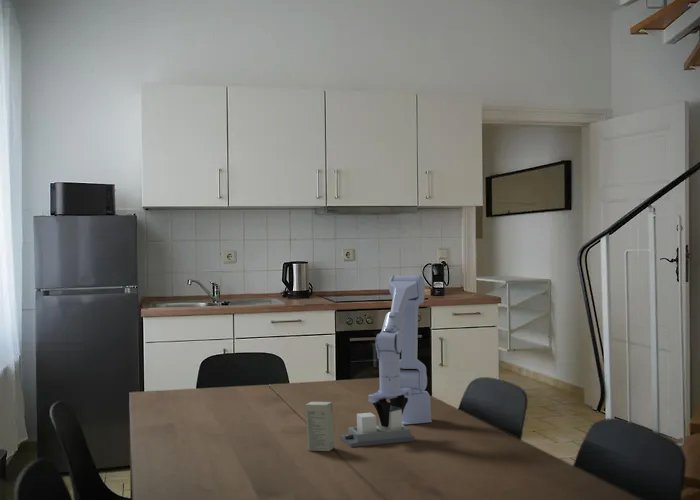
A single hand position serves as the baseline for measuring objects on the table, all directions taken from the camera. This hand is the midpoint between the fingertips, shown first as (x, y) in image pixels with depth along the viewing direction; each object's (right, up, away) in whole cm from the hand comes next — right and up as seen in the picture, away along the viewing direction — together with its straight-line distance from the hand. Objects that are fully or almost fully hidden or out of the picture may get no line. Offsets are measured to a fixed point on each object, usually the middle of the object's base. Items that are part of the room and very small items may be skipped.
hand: (390, 425), depth 208 cm
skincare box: (-19, -4, -10) cm, 22 cm away
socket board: (-4, -4, -1) cm, 5 cm away
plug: (0, -2, 0) cm, 2 cm away
